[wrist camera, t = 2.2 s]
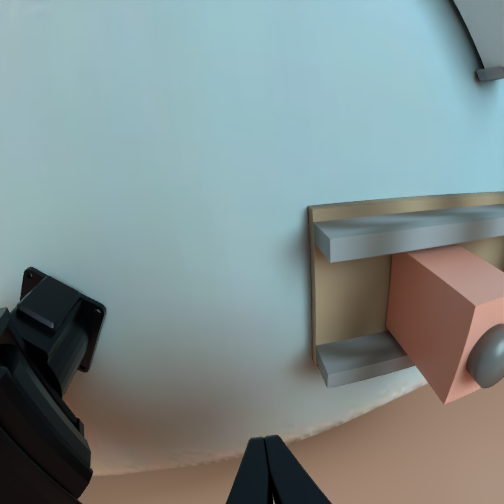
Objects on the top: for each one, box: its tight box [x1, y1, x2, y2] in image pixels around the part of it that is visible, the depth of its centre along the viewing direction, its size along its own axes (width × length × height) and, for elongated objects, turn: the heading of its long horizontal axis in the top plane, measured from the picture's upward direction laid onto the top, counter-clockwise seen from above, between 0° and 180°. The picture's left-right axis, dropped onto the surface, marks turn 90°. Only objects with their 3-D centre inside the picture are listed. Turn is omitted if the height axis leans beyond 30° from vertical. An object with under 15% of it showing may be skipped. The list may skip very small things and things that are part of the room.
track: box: [308, 192, 504, 388], centre depth 18 cm, size 18×11×4 cm, turn 96°
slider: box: [386, 244, 504, 404], centre depth 15 cm, size 4×6×9 cm, turn 6°
